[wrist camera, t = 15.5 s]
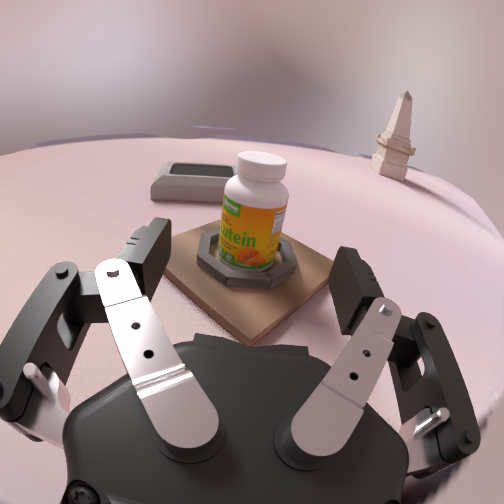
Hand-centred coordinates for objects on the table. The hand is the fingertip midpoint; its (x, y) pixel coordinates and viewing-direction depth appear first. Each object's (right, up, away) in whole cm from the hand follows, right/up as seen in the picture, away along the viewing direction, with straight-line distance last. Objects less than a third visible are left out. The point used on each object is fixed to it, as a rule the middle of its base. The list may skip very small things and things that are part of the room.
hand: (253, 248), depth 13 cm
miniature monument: (+44, +26, +68) cm, 85 cm away
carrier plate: (-1, -1, +14) cm, 14 cm away
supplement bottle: (-1, -1, +14) cm, 14 cm away
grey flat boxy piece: (-8, +9, +30) cm, 32 cm away
